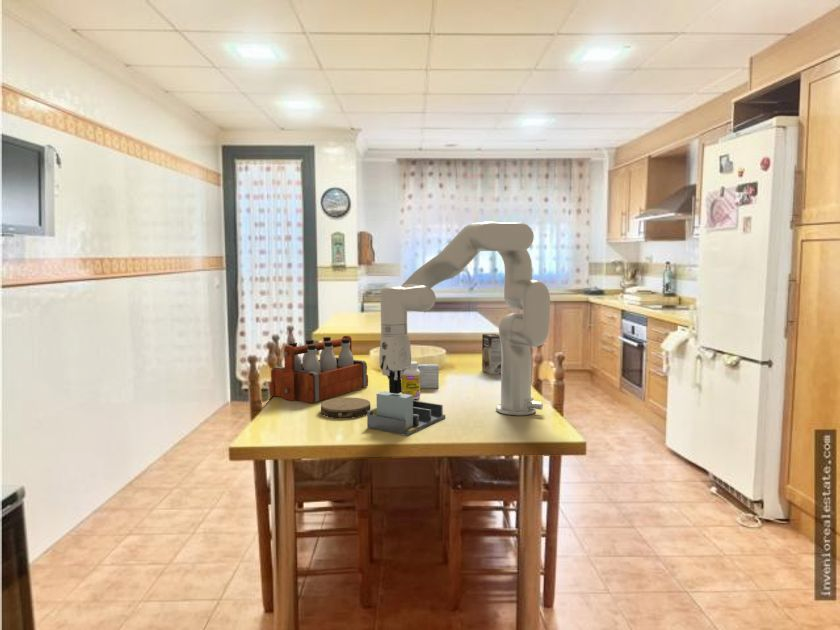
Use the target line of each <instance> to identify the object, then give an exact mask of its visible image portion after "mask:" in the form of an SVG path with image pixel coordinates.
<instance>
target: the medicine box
mask: <svg viewBox="0 0 840 630" xmlns="http://www.w3.org/2000/svg"><path fill="white" fill-rule="evenodd" d="M417 369H418V370H420V389H439V387H440V386H439V385H440V384H439V381H440V380H439V374H440V373H439V372H440V371H439V364H437V363H425V364H424V363H422V364H418V366H417Z"/></svg>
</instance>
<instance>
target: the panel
mask: <svg viewBox="0 0 840 630" xmlns="http://www.w3.org/2000/svg"><path fill="white" fill-rule="evenodd" d="M376 408H377V415H378V416H384V417H389V418H395V419H400V420H406V429H407V428H409V427H411V426H413V395H408V394H401V393H399V394H394V393H390V392H389V391H386V390H384V391H381V392H378V393H376Z"/></svg>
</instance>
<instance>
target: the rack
mask: <svg viewBox="0 0 840 630" xmlns="http://www.w3.org/2000/svg"><path fill="white" fill-rule="evenodd" d="M443 406H444V405H443V404H439V403H433V402H425V401H420V400H413V426H411V427H409V428H407V429H406V420H400V419H395V418H389V417H384V416H378V415H377V407H375V408H371V409H370V410H369V411H367V415H366V421H367V423H366V425H367V426H366V427H367V429H370V428H371V429H370V430H377V431H382V432H387V433H391V434H395V435H396V434H397V435H401V436H402V435H403V436H405V437H406V436H410V435H412V434H414V433H416V432H418V431H420V430H423V429H425V428H427V427H429V426H431V425H433V424H436V423H438V422H440V421H441V420H444V419H446V414H443V411H444V410H443Z"/></svg>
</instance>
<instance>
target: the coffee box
mask: <svg viewBox="0 0 840 630" xmlns="http://www.w3.org/2000/svg"><path fill="white" fill-rule="evenodd" d="M481 338H482V339H481V340H482V343H481V344H482V345H481V346H482V348H481V349H482V350H481V351H482V352H481V353H482V355H481V365H482V366H481V367H482V368H481V369H482V370H481V371H483V372H486V373H487V374H489V375H498V374H499V373H501V363H502V352H501V341H500V336H499V334H497V333H482V337H481ZM499 375H500V374H499Z"/></svg>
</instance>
